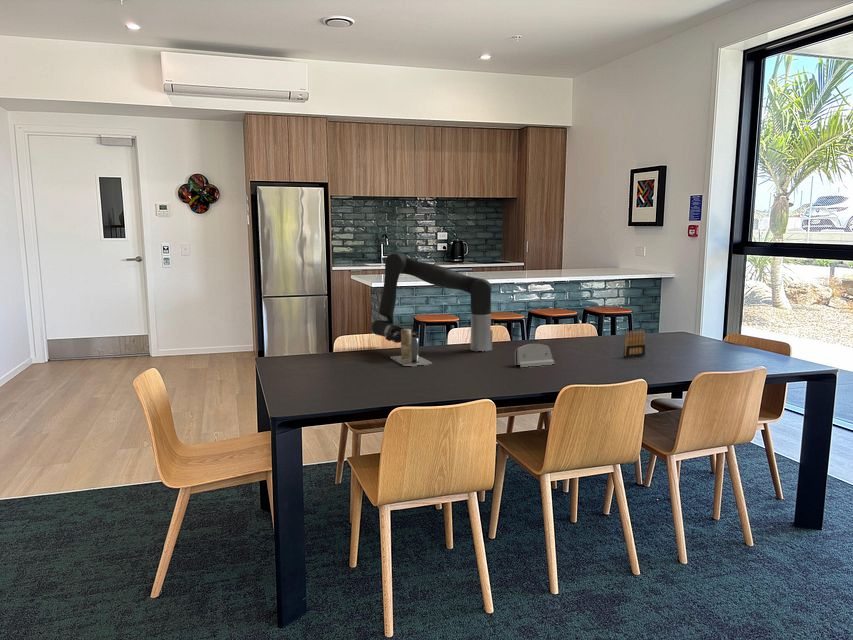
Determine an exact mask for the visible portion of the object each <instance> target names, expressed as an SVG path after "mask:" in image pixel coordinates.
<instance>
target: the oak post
mask: <svg viewBox="0 0 853 640" xmlns="http://www.w3.org/2000/svg"><path fill="white" fill-rule="evenodd" d="M411 333H412V329H411V328H404V329H402V330H401V342H400V356H401V358H411Z"/></svg>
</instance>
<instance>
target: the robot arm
mask: <svg viewBox="0 0 853 640" xmlns="http://www.w3.org/2000/svg"><path fill="white" fill-rule="evenodd" d="M384 264H385V265H384V279H383V280H384V282H383V287H382V293H381V298H380V302H379V309H378V314H379V315H380V316H383V317H386V320H381V319H376V320H374V321H373V322H372V325H371V331H372V333H373V334H374V335H376V336H381V337H384V339H385V340H386V341H388V342H391V341H392V342H394V343H397V344H399V343H400V344H401V330H402V329H405V328H404V327H403V326H401V325H398V324H395V323H394V312H395V306H396V301H397V287H398V280H399V278H400V274H404V275H408V276H412V277H415V278H418V279H419V280H421V281H423V282H426V283H428V284H430V285H433V286H436V287H440V288H444V289H445V288H446V289H451V290H457V291H458V290H459V291H462V292H466V293H467V294H470V351H473V352H478V351H482V352H484V351H485V352H490V351H493V330H492V329H491V328H492V299H491V298H492V291H493V287H492V284H491V283H490V281H489V280H487V279H485V278H481V277H474V276H471V275H469V276H468V275H465V274H462V273H460V272H458V271H455V270H453V269H449V268H447V267H445V266H440V265H436V264H433V263H429V262H422V261H419V260H415V259H413V258H410V257H408V256H405V255H403V254H401V253H395V252H392V253H390V254H388V255H387V256H386V258H385V261H384ZM411 338H419V339H420V333H419V332H417V331H413V330H411Z"/></svg>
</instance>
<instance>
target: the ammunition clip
mask: <svg viewBox="0 0 853 640" xmlns="http://www.w3.org/2000/svg"><path fill="white" fill-rule="evenodd" d="M645 339H646V338H645V330H644V329H643V328H642V330H641V329H639V331H638V329H636V331H635V329H633V331H632V330H630V331H629V330H627V331H626V334H625V340H624V346H623V356H625V357H624V358H626V357H627V358H631V357H630V356H638V357H641V356H640V355H645V356H646V344H645V343H646V342H645Z"/></svg>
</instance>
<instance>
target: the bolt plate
mask: <svg viewBox="0 0 853 640" xmlns="http://www.w3.org/2000/svg"><path fill="white" fill-rule="evenodd" d="M419 341H420V337H419V338H411V358H401V355H395V356H394V355H393V356H390V358H391V359H393V360H395V361H396V362H395V361H394V362H395V363H397V362H398V363H397V364H399V363H400V364H402V365H403V367H404V366H412V367H418V366H417V365H424V366H430V365H429V364H432V365H433V362H432V361H430V360H427V359H425V358H424V357H422V356H419V355H420V354H419V352H420V351H419V350H420V348H419V345H420V344H419ZM391 359H390V360H391ZM393 360H392V361H393ZM400 364H399V365H400ZM402 365H401V366H402Z"/></svg>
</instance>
